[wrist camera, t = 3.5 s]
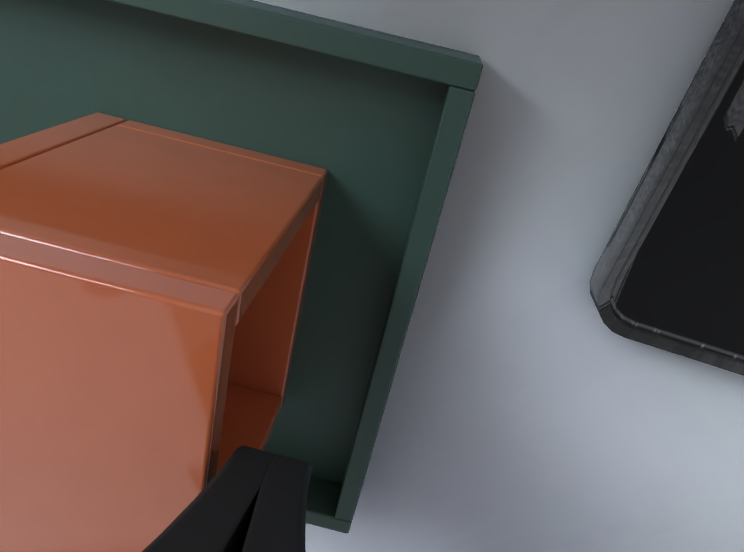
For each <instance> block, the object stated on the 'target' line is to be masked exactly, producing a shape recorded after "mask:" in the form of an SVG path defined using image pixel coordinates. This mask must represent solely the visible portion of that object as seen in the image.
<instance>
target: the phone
mask: <svg viewBox="0 0 744 552" xmlns="http://www.w3.org/2000/svg"><path fill="white" fill-rule="evenodd" d="M590 294H591V296H592V298H593V300H594V303H595V305H596V307H597V309H598V311H599V314H600V316H601V318H602V320H603V322H604V324H605V325H606V326H607V327H608V328H609V329H610V330H611V331H612V332H614V333H616V334H618V335H621V336H623V337H625V338H628V339H631V340H634V341H637V342H641V343H644V344H647V345H650V346H653V347H656V348H659V349H662V350H666V351H669V352H672V353H675V354H678V355H681V356H684V357H688V358H691V359H694V360H697V361H700V362H703V363H706V364H709V365H713V366H716V367H719V368H722V369H725V370H728V371H731V372H734V373H738V374H741V375H744V0H735V1H734V3H733V5H732V7H731V9H730V11H729V13H728V14H727V16H726V18H725V20H724V22H723V24H722V26H721V28H720V30H719V32H718V34H717V36H716V37H715V39H714V41H713V43H712V45H711V47H710V49H709V51H708V53H707V55H706V57H705V58H704V60H703V62H702V64H701V66H700V68H699V70H698V72H697V74H696V76H695V78H694V80H693V81H692V83H691V85H690V87H689V89H688V91H687V93H686V95H685V97H684V99H683V101H682V102H681V104H680V106H679V108H678V110H677V112H676V114H675V116H674V118H673V120H672V122H671V124H670V125H669V127H668V129H667V131H666V133H665V135H664V137H663V139H662V141H661V143H660V145H659V146H658V148H657V150H656V152H655V154H654V156H653V158H652V160H651V162H650V164H649V166H648V168H647V169H646V171H645V173H644V175H643V177H642V179H641V181H640V183H639V185H638V187H637V189H636V190H635V192H634V194H633V196H632V198H631V200H630V202H629V204H628V206H627V208H626V210H625V212H624V213H623V215H622V217H621V219H620V221H619V223H618V225H617V227H616V229H615V231H614V233H613V234H612V236H611V238H610V240H609V242H608V244H607V246H606V248H605V250H604V252H603V254H602V256H601V257H600V259H599V261H598V263H597V265H596V267H595V269H594V271H593V274H592V277H591V280H590Z"/></svg>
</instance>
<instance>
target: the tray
mask: <svg viewBox="0 0 744 552" xmlns="http://www.w3.org/2000/svg"><path fill="white" fill-rule="evenodd" d="M482 68H483V64H482V62H481V60H480V57H479V56H477V55H473V54H469V53H465V52H461V51H457V50H453V49H448V48H444V47H440V46H436V45H432V44H428V43H424V42H420V41H416V40H412V39H408V38H404V37H400V36H395V35H391V34H387V33H383V32H379V31H375V30H371V29H367V28H363V27H359V26H355V25H351V24H347V23H342V22H338V21H334V20H330V19H326V18H322V17H318V16H314V15H310V14H306V13H302V12H298V11H294V10H289V9H285V8H281V7H277V6H273V5H269V4H265V3H261V2H257V1H253V0H0V144H2V143H5V142H8V141H11V140H14V139H17V138H20V137H23V136H26V135H29V134H32V133H35V132H38V131H41V130H44V129H47V128H50V127H54V126H57V125H60V124H63V123H66V122H69V121H72V120H75V119H78V118H81V117H84V116H87V115H90V114H93V113H97V112H99V113H103V114H107V115H111V116H115V117H119V118H123V119H125V120H126V121H128V120H131V121H135V122H139V123H143V124H147V125H151V126H155V127H159V128H163V129H167V130H171V131H175V132H179V133H183V134H187V135H191V136H195V137H199V138H203V139H207V140H211V141H215V142H219V143H223V144H227V145H231V146H235V147H239V148H243V149H247V150H251V151H255V152H259V153H263V154H267V155H271V156H275V157H279V158H283V159H287V160H291V161H295V162H299V163H303V164H307V165H311V166H315V167H319V168H323V169H326V170H327V171H328V175H327V180H326V186H325V191H324V196H323V202H322V207H321V212H320V218H319V223H318V228H317V233H316V239H315V244H314V249H313V255H312V260H311V265H310V271H309V276H308V281H307V287H306V292H305V297H304V302H303V308H302V313H301V318H300V324H299V329H298V334H297V340H296V345H295V350H294V356H293V361H292V366H291V372H290V377H289V382H288V387H287V393H286V398H285V401H284V404H283V406H282V409H281V411H280V414H279V416H278V419H277V421H276V423H275V426H274V428H273V431H272V433H271V435H270V438H269V440H268V443H267V445H266V448H265V450H264V451H267V452H271V453H275V454H279V455H283V456H286V457H290V458H294V459H298V460H302V461H306V462H308V463H309V464H310V466H311V467H312V468H313V469H312V473H311V477H310V481H309V486H308V494H307V504H306V523H308V524H312V525H316V526H320V527H324V528H327V529H331V530H335V531H339V532H343V533H348V532H349V530H350V526H351V523H352V520H353V516H354V513H355V509H356V506H357V502H358V499H359V495H360V492H361V488H362V485H363V481H364V478H365V474H366V471H367V467H368V464H369V460H370V457H371V454H372V450H373V447H374V443H375V440H376V436H377V433H378V429H379V426H380V422H381V419H382V415H383V412H384V408H385V405H386V401H387V398H388V394H389V391H390V388H391V384H392V381H393V377H394V374H395V370H396V367H397V363H398V360H399V356H400V353H401V349H402V346H403V342H404V339H405V335H406V332H407V328H408V325H409V322H410V318H411V315H412V311H413V308H414V304H415V301H416V297H417V294H418V290H419V287H420V283H421V280H422V276H423V273H424V269H425V266H426V262H427V259H428V256H429V252H430V249H431V245H432V242H433V238H434V235H435V231H436V228H437V224H438V221H439V217H440V214H441V210H442V207H443V203H444V200H445V197H446V193H447V190H448V186H449V183H450V179H451V176H452V172H453V169H454V165H455V162H456V158H457V155H458V151H459V148H460V144H461V141H462V137H463V134H464V131H465V127H466V124H467V120H468V117H469V113H470V110H471V106H472V103H473V99H474V96H475V90H476V89H477V85H478V82H479V78H480V75H481V71H482Z"/></svg>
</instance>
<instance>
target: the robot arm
mask: <svg viewBox="0 0 744 552" xmlns="http://www.w3.org/2000/svg"><path fill="white" fill-rule="evenodd" d="M312 469H313V468H312V467H311V466H310V464H309V463H308V462H306V461H302V460H298V459H294V458H290V457H286V456H283V455H279V454H275V453H271V452H267V451H263V450H260V449H256V448H252V447H248V446H244V445H243V446H241V447H239V448H237V449H236V450H235V451H234V453H233V454H232V455H231V457H230V458H229V459H228V461H227V462H226V463H225V464H224V466H223V467H222V468H221V469H220V471H219V472H218V473H217V474H216V475H215V477H214V478H213V479H212V480H211V481H210V482H209V483H208V485H207V486H206V487H205V488H204V489H203V490H202V491H201V492H200V493H199V495H198V496H197V497H196V498H195V499H194V500H193V501H192V502H191V503H190V504H189V505H188V506H187V507H186V508H185V509H184V510H183V511H182V512H181V513H180V515H179V516H178V517H177V518H176V519H175V520H174V521H173V522H172V523H171V524H170V525H169V526H168V527H167V528H166V529H165V530H164V531H163V532H162V533H161V534H160V535H159V536H158V537H157V538H156V539H155V540H154V541H153V542H151V543H150V544H149V545H148V546H147V547H146V548H145V549H144V550H143V551H142V552H305V523H306V504H307V494H308V486H309V481H310V477H311V473H312Z"/></svg>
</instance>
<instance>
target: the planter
mask: <svg viewBox="0 0 744 552" xmlns="http://www.w3.org/2000/svg"><path fill="white" fill-rule="evenodd" d="M327 175H328V171H327V170H326V169H323V168H319V167H315V166H311V165H307V164H303V163H299V162H295V161H291V160H287V159H283V158H279V157H275V156H271V155H267V154H263V153H259V152H255V151H251V150H247V149H243V148H239V147H235V146H231V145H227V144H223V143H219V142H215V141H211V140H207V139H203V138H199V137H195V136H191V135H187V134H183V133H179V132H175V131H171V130H167V129H163V128H159V127H155V126H151V125H147V124H143V123H139V122H135V121H131V120H128V121H126V120H125V119H123V118H119V117H115V116H111V115H107V114H103V113H99V112H97V113H93V114H90V115H87V116H84V117H81V118H78V119H75V120H72V121H69V122H66V123H63V124H60V125H57V126H54V127H50V128H47V129H44V130H41V131H38V132H35V133H32V134H29V135H26V136H23V137H20V138H17V139H14V140H11V141H8V142H5V143H2V144H0V552H142V551H143V550H144V549H145V548H146V547H147V546H148V545H149V544H150V543H151V542H153V541H154V540H155V539H156V538H157V537H158V536H159V535H160V534H161V533H162V532H163V531H164V530H165V529H166V528H167V527H168V526H169V525H170V524H171V523H172V522H173V521H174V520H175V519H176V518H177V517H178V516H179V515H180V513H181V512H182V511H183V510H184V509H185V508H186V507H187V506H188V505H189V504H190V503H191V502H192V501H193V500H194V499H195V498H196V497H197V496H198V495H199V493H200V492H201V491H202V490H203V489H204V488H205V487H206V486H207V485H208V483H209V482H210V481H211V480H212V479H213V478H214V477H215V475H216V474H217V473H218V472H219V471H220V469H221V468H222V467H223V466H224V464H225V463H226V462H227V461H228V459H229V458H230V457H231V455H232V454H233V453H234V451H235V450H236V449H237V448H239V447H241V446H243V445H244V446H248V447H252V448H256V449H260V450H263V451H264V450H265V448H266V445H267V443H268V440H269V438H270V435H271V433H272V431H273V428H274V426H275V423H276V421H277V419H278V416H279V414H280V411H281V409H282V406H283V404H284V401H285V398H286V393H287V387H288V382H289V377H290V372H291V366H292V361H293V356H294V350H295V345H296V340H297V334H298V329H299V324H300V318H301V313H302V308H303V302H304V297H305V292H306V287H307V281H308V276H309V271H310V265H311V260H312V255H313V249H314V244H315V239H316V233H317V228H318V223H319V218H320V212H321V207H322V202H323V196H324V191H325V186H326V180H327Z"/></svg>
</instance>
